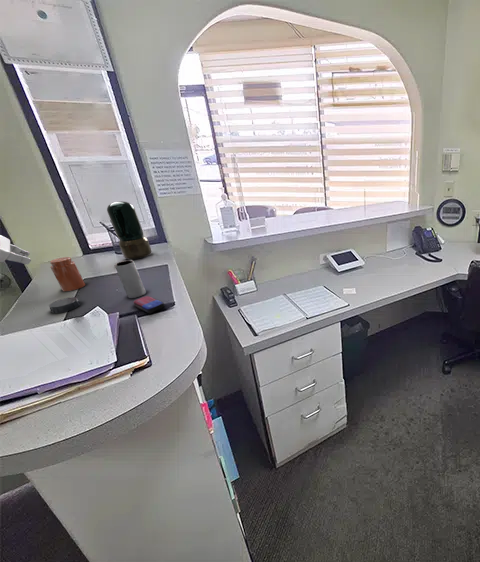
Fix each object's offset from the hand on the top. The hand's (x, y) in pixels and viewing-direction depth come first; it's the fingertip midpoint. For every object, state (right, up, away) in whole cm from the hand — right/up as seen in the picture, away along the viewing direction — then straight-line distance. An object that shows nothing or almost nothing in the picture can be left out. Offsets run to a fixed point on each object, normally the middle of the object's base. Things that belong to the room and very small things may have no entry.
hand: (29, 258), depth 92 cm
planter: (+32, -11, +1) cm, 34 cm away
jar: (+6, -9, +8) cm, 13 cm away
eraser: (+41, -14, -7) cm, 44 cm away
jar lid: (+16, -13, -6) cm, 22 cm away
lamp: (+7, +3, +34) cm, 35 cm away
